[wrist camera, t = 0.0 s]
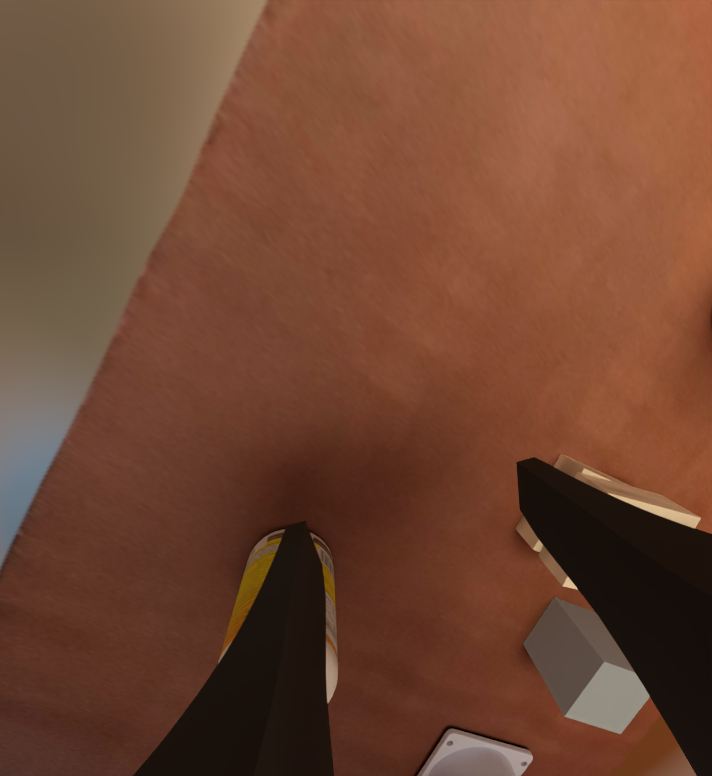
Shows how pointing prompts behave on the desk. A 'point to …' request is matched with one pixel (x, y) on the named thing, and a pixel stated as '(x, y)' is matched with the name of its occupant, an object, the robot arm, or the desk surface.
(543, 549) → the top slab
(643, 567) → the robot arm
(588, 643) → the gray block
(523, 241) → the desk surface
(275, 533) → the supplement bottle
